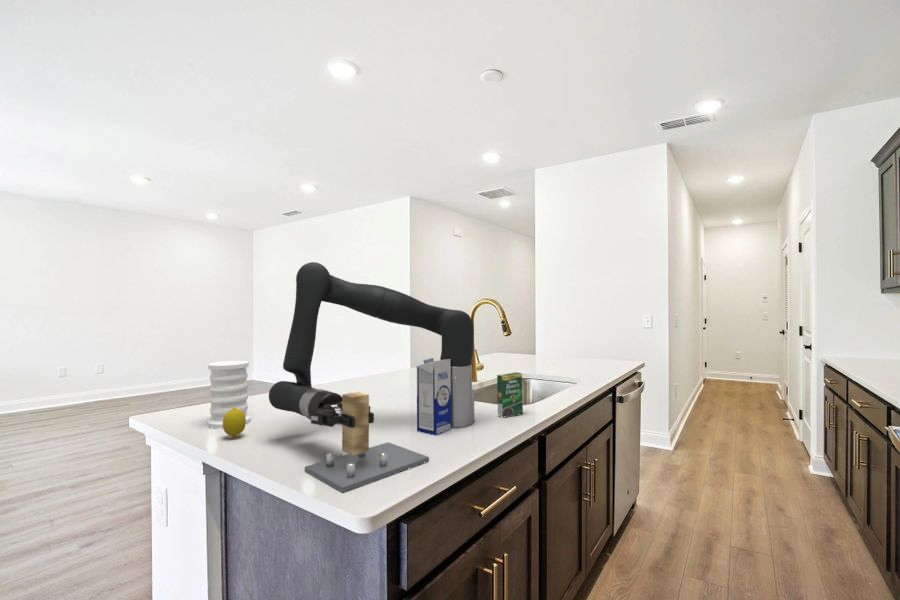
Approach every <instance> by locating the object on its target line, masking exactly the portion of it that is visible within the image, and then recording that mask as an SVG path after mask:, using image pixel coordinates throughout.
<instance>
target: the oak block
mask: <svg viewBox="0 0 900 600" xmlns="http://www.w3.org/2000/svg"><path fill="white" fill-rule="evenodd" d="M341 396H342V412H343V414H347V415H350V416H354V417H355V427H353V428H350V427H347V426H345V425H341V427H342V428H341V431H342V432H341V436H342V437H341V442H342V444H341V449H342V450H341V451H342V452H344V453H346V454H350V455H352V456H353V455H356V454H360V453H363V452H367V451H369V448H370V441H369V440H370V433H369V432H370V427H369V426H370V423H369V406H370V394H369V393H366V392H365V393H364V392H360V391H354V392H347V393H342V395H341Z"/></svg>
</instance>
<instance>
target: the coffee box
mask: <svg viewBox="0 0 900 600" xmlns="http://www.w3.org/2000/svg"><path fill="white" fill-rule="evenodd" d="M496 382H497V384H496V385H497V416H498V415H500V416H503V417H504V416H510V417H512V416H511V415H516V416H519V415H518V414H521V415H523V414H524V408H523V405H524V403H523V400H524V399H523V374H522V373H521V372H517V371H516V372H511V373H510V372H509V373H502V374H497V375H496ZM500 416H499V417H500ZM504 418H505V417H504Z"/></svg>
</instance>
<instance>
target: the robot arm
mask: <svg viewBox="0 0 900 600" xmlns="http://www.w3.org/2000/svg"><path fill="white" fill-rule="evenodd" d="M295 283H296V284H295V285H296V287H295V304H294V311H293V318H292V322H291V328H290V331H289V334H288V336H289V337H288V340H287V344H286V348H285V354H284V359H283V364H282V368H283V370H284V371H286V372H288V373H291V374H293V375H294V376H295V379H296V382H295V381H287V380H280V381H277V382H275V383H274V384H272V386H271V387H270V389H269V392H268V400H269V403H270V404H271V406H272V407H273V408H274V409H277V410H280V411H285V412H291V413H295V414H299V415H300V416H302V417H305V418H307V419H308V420H310V424H311V425H318V426H324V427H330V428H331V427H335V426H341V427H342V425H345V426H347V427H350V428H353V427H355V417H354V416H350V415H347V414H343V412H342V395H341V394H339V393H336V392H332V391H329V390H327V389H323V388H316V387H312V373H311V368H312V367H311V366H312V363H313V361H312V360H313V357H314V351H315V345H316V344H315V343H316V338H317V337H316V336H317V325H318V324H317V323H318V318H319V317H318V316H319V312H320V307H321V304H322V302H324V303H329V304H333V305H339V306H343V307H346V308H347V309H348V308H349V309H351V310H353V311H356V312H358V313H361V314H364V315H367V316H370V317H371V318H372V317H373V318H375V319H379V320H382V321H386V322H389V323H391V324H398V325H402V326H409V327H415V328H416V327H417V328H419V329H423V330H427V331H430V332H432V333H434V334H437V335H439V336H440V337H441V353H440V359H439V360H445V359H450V372H451V428H465V427H466V428H467V427H470V426H471V425H472V424H473V423H474V422H475V389H473V381H472V380H473V377H472V376H473V373H472V370H473V369H472V367H473V366H472V365H473V361H472V360H473V356H474V324H473V319H472V317H471V316H470V315H469V313H467V312H465V311H463V310H460V309H459V310H458V309H450V308H444V307H439V306H435V305H430V304H428V303H425V302H423V301H421V300H420V299H417V298H415V297H413V296H410V295H408V294H406V293H403V292H402V291H398V290H395V289H392V288H388V287H386V286H381V285H376V284H368V283H364V284H363V283H355V282H351V281H349V280H344V279H342V278H340V277H336V276H334V275H332V274H330V272H329V270H328V269H327V268H326V266H324V264H321V263H319V262H312V261H311V262H310V261H309V262H307V263H305V264H303V265H302V266H301V267H300V268H299V269H298V271H297V273H296V277H295ZM374 422H375V413H373V412H372V411H371V405H369V424H374Z"/></svg>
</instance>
